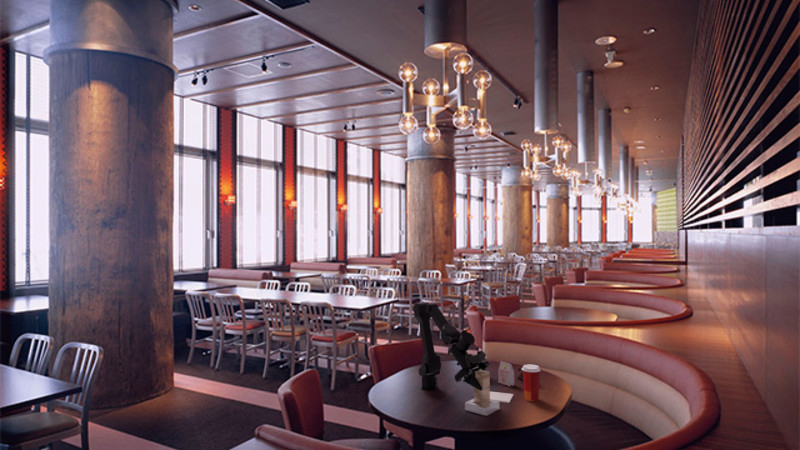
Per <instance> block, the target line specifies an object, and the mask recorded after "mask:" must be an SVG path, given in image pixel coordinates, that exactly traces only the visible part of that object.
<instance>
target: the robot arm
mask: <svg viewBox="0 0 800 450" xmlns="http://www.w3.org/2000/svg"><path fill="white" fill-rule="evenodd" d="M412 313H413V315H414V318H415V319H416V321H417V322H418V324H419V330H420V338H421V343H422V349H423V355H422V358H421V366H420V367H419V368H418V370H417V371H418V375H419V376H421V387H420V389H421V390H425V391H436V389H437V388H438V387H439V378H438V376H437V375H440V373H441V369H442V362H441V356H440V354H439V355H438V354H437V353H436V352H435V346H434V342H433V341H434V340H433V334H432V328H431V318H432V321H433V322H434V324H435V325H436V327H437V328H438V329H439V332H440V338H441V340H442V342H443V344H444V345H447V346H449V345H450V346H449V347H448V349H447V355H451V354H452V356H453V358H454V359H455V360H456V366H459V367H460V368H461V369H459V370H458V371H457V372H456V373H455V375H454V380H455V382H456V383H457V384H458V383H459V382H463V383H466V384H468V385H469V386H472V387H473V388H474V387H475V388H477V389H478V390H480V391H481V390H482V387H481V385H480V384H479V382H478V381H477V379H476V377H475V372H476V371H479V370H483V371H485V370H486V368H487V369H488V367H489V366H490V365H491V363H489V361H488V360H487V361H486V359H485V357H487V355H486V353H485V351H483V350H480V351H477V353H476V354H477V355H475V356H473V355H472V354H473V353H468V351H469V349H470V348H471V347H472V346H473V344H474V343H475V342H476V339H475V336H474V335H473V334H472V333H470V332H468V331H467V330H466V329H464V330H462V331H461V332H460V331H459V330H458V329H457V327H455V326H453V325H451V324H450V323H449V322H448V320H447V319H446V317H445V316H444V314H443V312H442V311H441V310H440V307H439V305H438V304H437V303H434V302H433V303H429V302H427V301H426V302H417V303H414V305H413V307H412ZM479 362H480V363H479ZM476 365H477V366H476ZM462 379H463V380H462Z"/></svg>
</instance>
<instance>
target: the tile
mask: <svg viewBox="0 0 800 450" xmlns="http://www.w3.org/2000/svg"><path fill="white" fill-rule="evenodd" d="M513 398H514V393H507V392H498V391H490V399H492V400H495V401H499V403H505V404H506V403H507V404H510V403H511V401H512V399H513Z"/></svg>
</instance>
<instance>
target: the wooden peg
mask: <svg viewBox="0 0 800 450" xmlns="http://www.w3.org/2000/svg"><path fill="white" fill-rule="evenodd" d="M475 377H476V379H477V381H478V382H479V384H480V385H481V387H482V390H481V391H480V390H478V389H477V388H475V387H473V390H474V393H473V394H474V395H473V396H474V398H473V399H474V403H476V404H480V405H483V406H485V405H487V404H489V403H490V390H491V389H490V388H491V385H490V384H491V383H490V382H491V381H490V378H491V377H490V371H488V370H487V371H483V370H479V371H476V372H475Z"/></svg>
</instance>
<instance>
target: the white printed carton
mask: <svg viewBox="0 0 800 450" xmlns="http://www.w3.org/2000/svg"><path fill="white" fill-rule="evenodd" d="M500 383H501V384H500ZM497 384H500V385H503V386H506V385H507V387H512V386H515V371H514V368H513V365H512V364H511V363H509V362H504V361H499V365H498V368H497ZM511 385H512V386H511Z"/></svg>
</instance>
